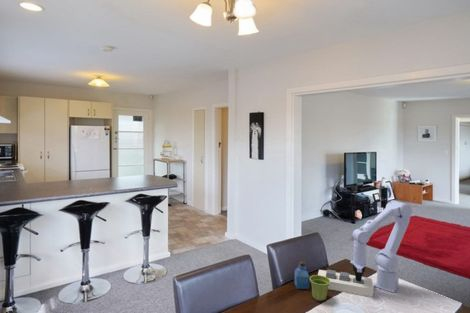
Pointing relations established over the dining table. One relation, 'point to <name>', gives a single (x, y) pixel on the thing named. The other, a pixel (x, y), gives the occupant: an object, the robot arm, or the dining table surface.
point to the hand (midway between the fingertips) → (358, 280)
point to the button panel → (350, 285)
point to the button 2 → (358, 281)
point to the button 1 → (331, 274)
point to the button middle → (344, 276)
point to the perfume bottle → (301, 276)
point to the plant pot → (319, 286)
